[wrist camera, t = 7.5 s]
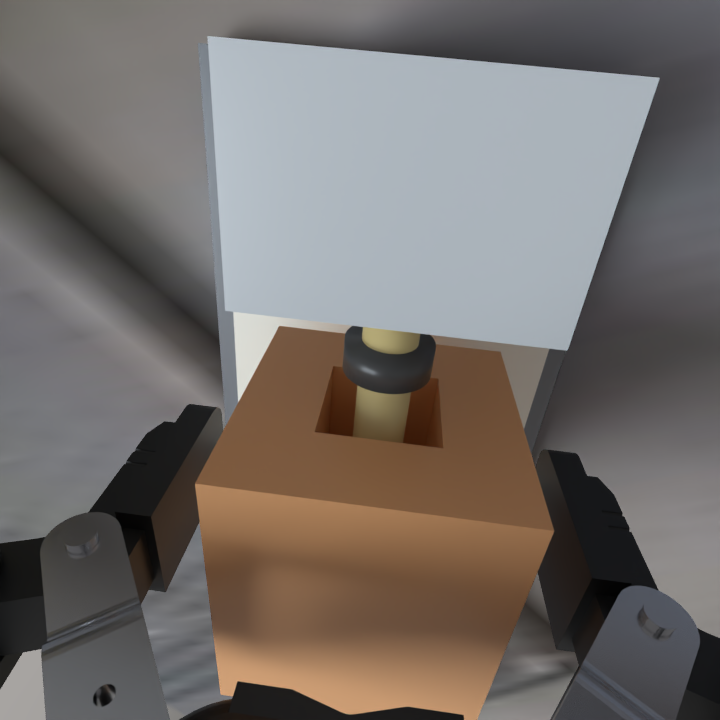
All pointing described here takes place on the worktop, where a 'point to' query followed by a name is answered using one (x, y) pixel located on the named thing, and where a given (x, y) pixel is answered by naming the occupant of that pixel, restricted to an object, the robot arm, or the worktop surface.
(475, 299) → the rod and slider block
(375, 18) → the worktop surface
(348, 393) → the sleeve
